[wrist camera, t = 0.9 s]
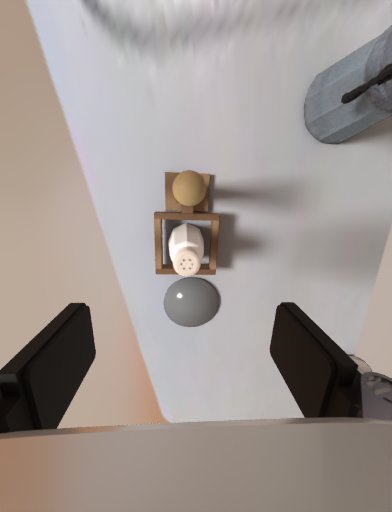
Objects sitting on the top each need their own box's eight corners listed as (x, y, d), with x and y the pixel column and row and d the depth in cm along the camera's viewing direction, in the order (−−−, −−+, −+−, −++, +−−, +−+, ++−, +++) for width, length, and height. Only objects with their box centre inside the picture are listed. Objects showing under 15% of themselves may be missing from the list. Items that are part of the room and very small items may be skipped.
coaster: (216, 325, 35) (216, 326, 34) (164, 325, 34) (164, 327, 34) (219, 277, 32) (220, 278, 32) (163, 277, 32) (163, 278, 31)
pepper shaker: (204, 223, 30) (215, 237, 19) (203, 257, 31) (212, 288, 21) (167, 222, 29) (158, 237, 19) (168, 257, 31) (160, 289, 20)
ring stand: (212, 267, 32) (238, 333, 16) (158, 266, 31) (133, 334, 16) (218, 174, 28) (258, 148, 13) (156, 172, 27) (119, 141, 12)
